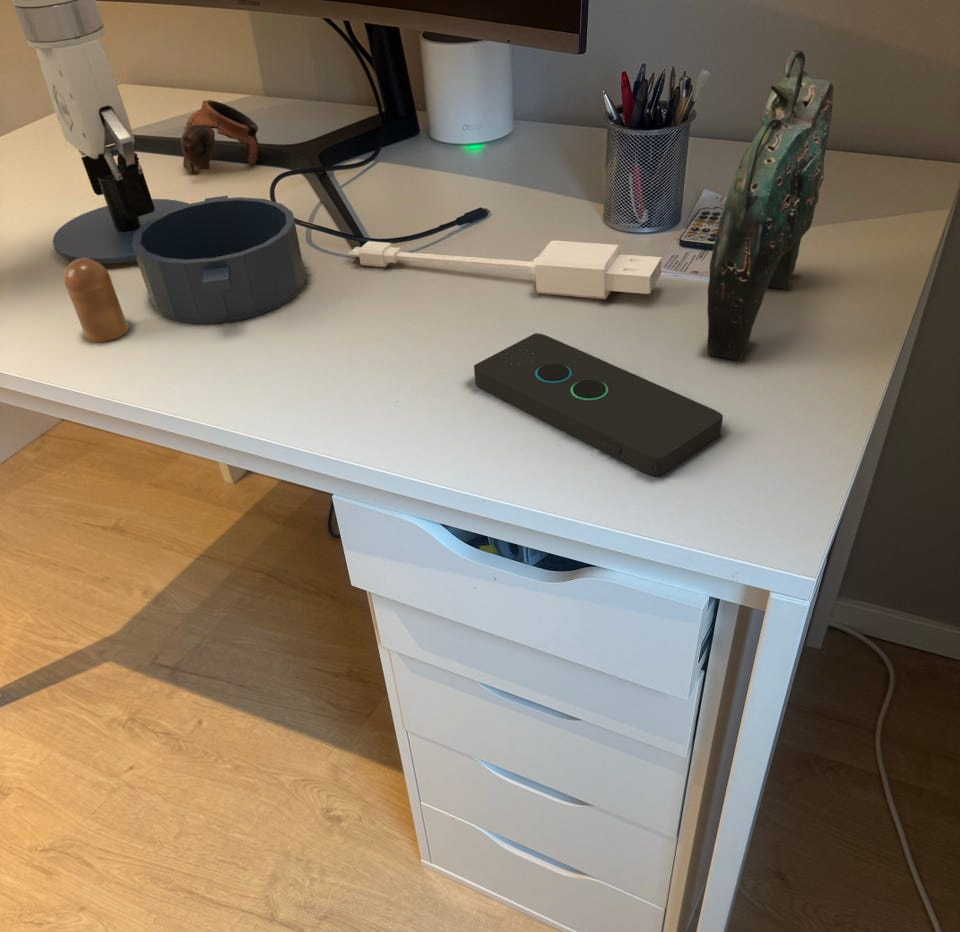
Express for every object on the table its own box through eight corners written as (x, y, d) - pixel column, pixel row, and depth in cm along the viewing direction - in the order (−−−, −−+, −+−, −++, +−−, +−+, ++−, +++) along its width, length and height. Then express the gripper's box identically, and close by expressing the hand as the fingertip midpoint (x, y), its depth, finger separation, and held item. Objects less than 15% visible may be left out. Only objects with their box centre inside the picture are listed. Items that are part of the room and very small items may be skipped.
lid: (47, 278, 96) (20, 214, 92) (65, 220, 108) (42, 160, 103) (204, 256, 98) (185, 192, 93) (205, 201, 109) (189, 141, 105)
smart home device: (538, 329, 79) (728, 412, 68) (539, 347, 80) (725, 432, 69) (468, 365, 75) (657, 460, 64) (470, 384, 76) (655, 479, 65)
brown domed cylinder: (83, 345, 85) (54, 272, 80) (88, 325, 88) (59, 254, 83) (126, 338, 86) (100, 265, 81) (129, 319, 88) (104, 247, 83)
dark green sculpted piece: (750, 262, 89) (788, 22, 75) (817, 272, 87) (869, 27, 72) (684, 356, 77) (715, 93, 63) (759, 371, 75) (809, 101, 61)
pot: (146, 347, 84) (124, 285, 80) (157, 256, 99) (139, 200, 94) (312, 322, 86) (300, 260, 82) (299, 236, 100) (287, 180, 96)
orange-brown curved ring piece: (196, 156, 122) (214, 93, 118) (258, 192, 123) (278, 131, 119) (151, 162, 112) (167, 93, 108) (218, 202, 113) (238, 135, 109)
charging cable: (366, 258, 97) (360, 226, 95) (661, 281, 86) (663, 246, 84) (343, 278, 94) (337, 245, 92) (647, 305, 83) (648, 269, 81)
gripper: (-2, 16, 92) (66, 192, 104) (51, 44, 81) (120, 235, 94) (69, 0, 94) (128, 174, 107) (129, 25, 84) (186, 214, 97)
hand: (124, 202), depth 100 cm, fingers open, 9 cm apart
